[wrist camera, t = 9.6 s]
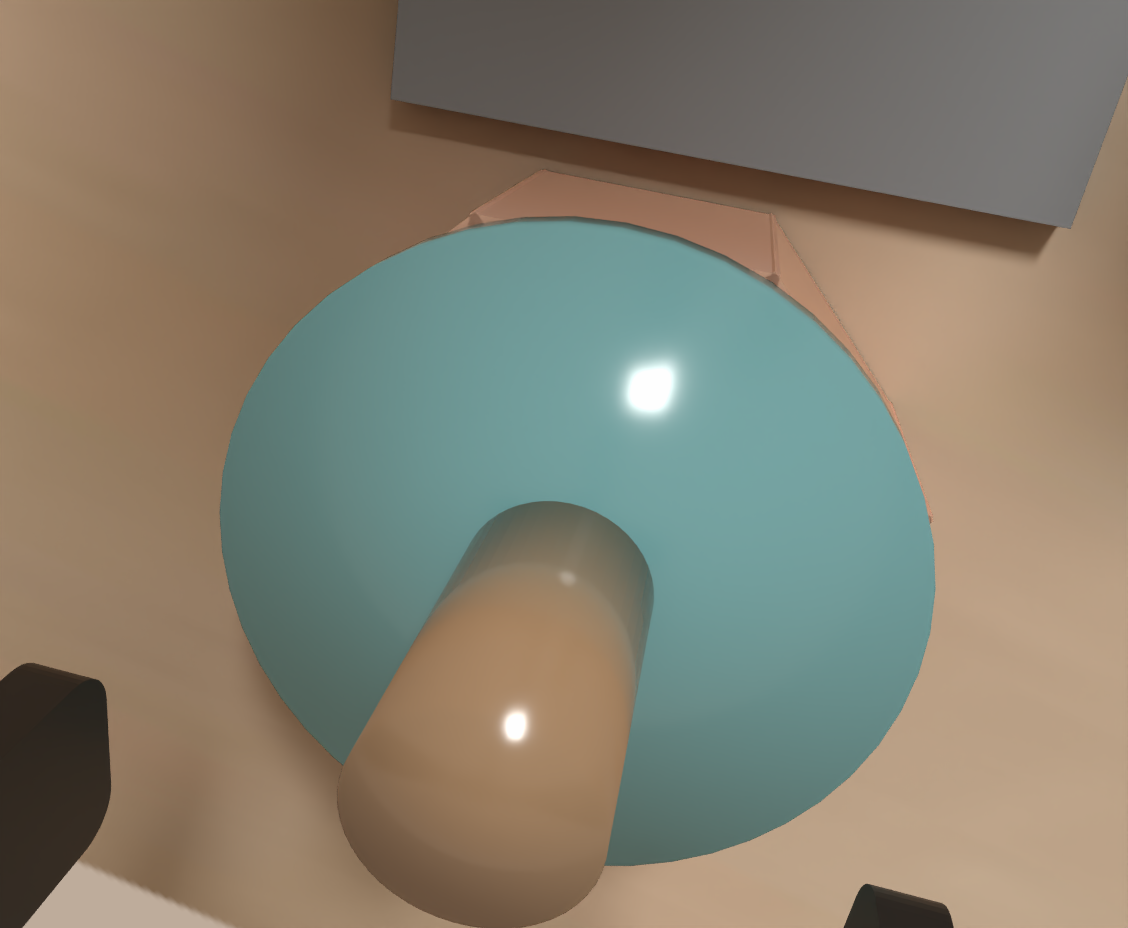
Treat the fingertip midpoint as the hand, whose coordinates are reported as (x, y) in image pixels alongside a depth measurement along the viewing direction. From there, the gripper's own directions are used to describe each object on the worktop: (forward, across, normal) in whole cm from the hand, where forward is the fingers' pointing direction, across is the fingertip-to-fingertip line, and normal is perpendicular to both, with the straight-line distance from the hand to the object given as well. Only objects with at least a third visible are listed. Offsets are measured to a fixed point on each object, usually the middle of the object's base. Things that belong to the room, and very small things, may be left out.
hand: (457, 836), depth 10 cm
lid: (+6, 0, 0) cm, 6 cm away
